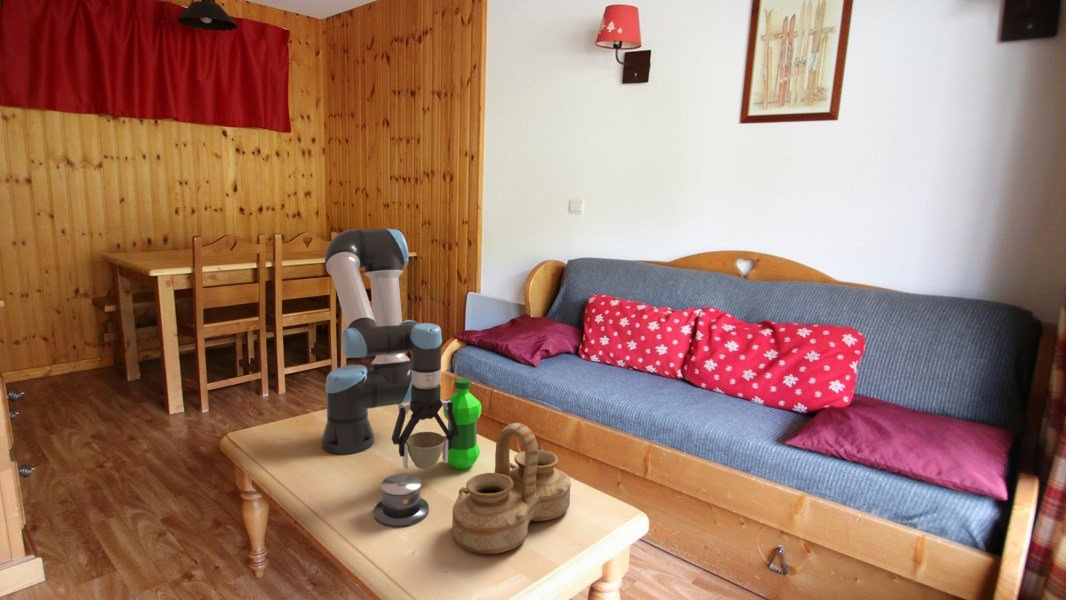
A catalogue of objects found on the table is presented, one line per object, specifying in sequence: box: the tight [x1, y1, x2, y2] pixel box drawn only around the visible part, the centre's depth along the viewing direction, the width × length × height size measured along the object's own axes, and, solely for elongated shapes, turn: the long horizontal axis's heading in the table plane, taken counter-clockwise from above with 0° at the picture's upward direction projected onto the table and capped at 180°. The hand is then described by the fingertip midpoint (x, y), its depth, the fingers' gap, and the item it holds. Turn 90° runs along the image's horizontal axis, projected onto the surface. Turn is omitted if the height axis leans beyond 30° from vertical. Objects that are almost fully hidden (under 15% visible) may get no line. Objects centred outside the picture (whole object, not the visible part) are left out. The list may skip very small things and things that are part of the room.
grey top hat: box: [373, 473, 430, 528], centre depth 148 cm, size 13×13×8 cm
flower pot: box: [406, 431, 445, 470], centre depth 162 cm, size 10×10×7 cm
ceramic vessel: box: [451, 422, 572, 555], centre depth 144 cm, size 34×18×25 cm, turn 143°
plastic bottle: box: [442, 377, 482, 470], centre depth 171 cm, size 10×10×25 cm
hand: (425, 463), depth 162 cm, fingers closed on flower pot, 10 cm apart
